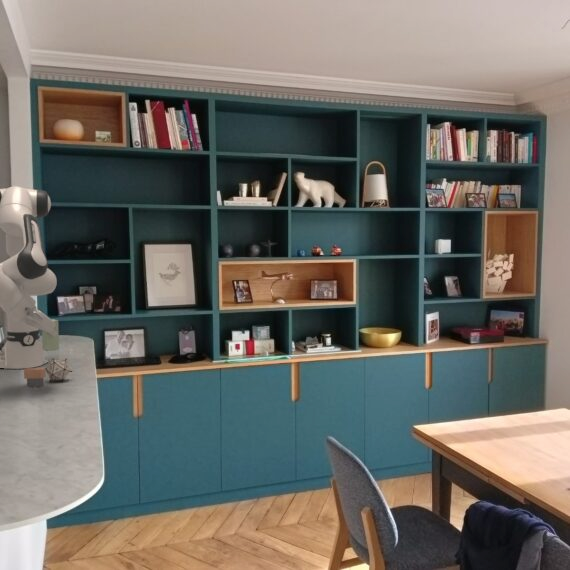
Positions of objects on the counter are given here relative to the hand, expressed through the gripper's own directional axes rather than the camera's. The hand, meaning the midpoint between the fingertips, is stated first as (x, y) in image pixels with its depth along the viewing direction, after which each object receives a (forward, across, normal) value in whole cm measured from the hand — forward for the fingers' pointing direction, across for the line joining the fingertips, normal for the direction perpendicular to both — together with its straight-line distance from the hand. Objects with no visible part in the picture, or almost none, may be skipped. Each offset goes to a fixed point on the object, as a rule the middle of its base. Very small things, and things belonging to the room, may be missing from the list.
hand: (52, 333), depth 195 cm
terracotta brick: (+8, +6, +14) cm, 17 cm away
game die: (+16, +7, +10) cm, 21 cm away
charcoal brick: (+10, +6, +16) cm, 20 cm away
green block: (+3, 0, +4) cm, 5 cm away
